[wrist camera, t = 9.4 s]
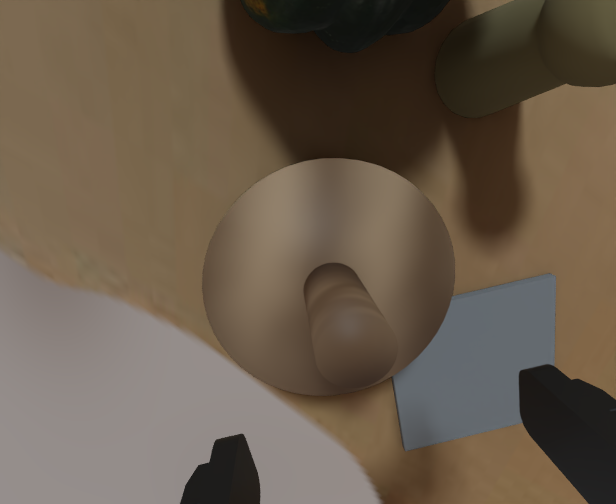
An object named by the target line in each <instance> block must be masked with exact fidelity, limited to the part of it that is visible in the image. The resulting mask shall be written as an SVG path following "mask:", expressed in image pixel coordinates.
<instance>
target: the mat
mask: <svg viewBox="0 0 616 504" xmlns="http://www.w3.org/2000/svg"><path fill="white" fill-rule="evenodd" d="M555 295H556V276H555V275H552V274H550V273H549V274H545V275H541V276H537V277H532V278H528V279H524V280H520V281H515V282H511V283H507V284H503V285H498V286H494V287H490V288H486V289H481V290H477V291H473V292H469V293H464V294H460V295H456V296H452V299H451V302H450V306H449V309H448V311H447V314H446V316H445V319H444V321H443V323H442V325H441V326H440V328H439V330H438V332H437V334H436V335H435V336H434V338H433V339H432V341H431V342H430V343H429V345H428V346H427V347H426V348H425V349H424V350H423V352H422V353H421V354H420V355H419V356H418V357H417V358H416V359H415V360H413V361H412V362H411V363H410V364H409V365H408V366H407V367H405V368H404V369H402V370H401V371H399V372H398V373H397V374H395V375H394V376H392V382H393V388H394V395H395V401H396V407H397V413H398V419H399V425H400V431H401V438H402V444H403V447H404V450H405V451H409V450H413V449H417V448H421V447H425V446H429V445H433V444H438V443H442V442H446V441H450V440H454V439H458V438H462V437H466V436H470V435H474V434H478V433H483V432H487V431H491V430H495V429H499V428H503V427H507V426H511V425H515V424H519V423H523V422H522V419H521V416H520V407H519V372H520V371H521V370H523V369H528V368H532V367H536V366H541V365H545V364H550V365H553V366H554V354H555Z"/></svg>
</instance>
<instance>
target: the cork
mask: <svg viewBox="0 0 616 504" xmlns="http://www.w3.org/2000/svg"><path fill="white" fill-rule="evenodd" d="M435 81H436V87H437V92H438V93H439V95H440V97H441V99H442V101H443V103H444V104H445V105H446V106H447V107H448V108H449V109H450V110H451V111H452V112H453V113H456V114H458V115H461V116H463V117H466V118H480V117H483V116H486V115H489V114H492V113H494V112H497V111H499V110H502V109H504V108H507V107H509V106H512V105H514V104H517V103H519V102H521V101H524V100H526V99H529V98H531V97H534V96H536V95H539V94H541V93H544V92H546V91H549V90H551V89H554V88H556V87H559V86H561V85H564V84H566V83H567V84H569V85H572V86H581V87H602V86H608V85H613V84H616V0H514V1H511V2H509V3H507V4H504V5H502V6H499V7H497V8H495V9H492V10H490V11H487V12H485V13H483V14H480V15H478V16H475V17H473V18H470V19H468V20H466V21H464V22H463V23H461V24H460V25H459V26H457V27H456V28H455V29H453V30H452V31H451V33H450V34H449V35H448V37H447V38H446V40H445V41H444V42H443V44H442V46H441V49H440V51H439V54H438V56H437V59H436V66H435Z"/></svg>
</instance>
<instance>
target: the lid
mask: <svg viewBox="0 0 616 504" xmlns="http://www.w3.org/2000/svg"><path fill="white" fill-rule="evenodd" d="M454 282H455V259H454V252H453V246H452V243H451V239H450V236H449V233H448V230H447V228H446V226H445V224H444V222H443V220H442V217H441V216H440V214H439V213H438V211H437V210H436V208H435V207H434V205H433V204H432V203H431V202H430V200H429V199H428V198H427V197H426V196H425V195H424V194H423V193H422V192H421V191H420V190H419V189H418V188H417V187H415V186H414V185H413V184H412V183H411V182H409V181H408V180H406V179H405V178H403V177H401V176H400V175H398V174H396V173H395V172H393V171H390V170H388V169H386V168H383V167H381V166H379V165H375V164H372V163H368V162H364V161H360V160H352V159H343V158H320V159H314V160H307V161H302V162H299V163H296V164H292V165H289V166H286V167H284V168H282V169H279V170H277V171H275V172H273V173H271V174H269V175H268V176H266V177H264V178H263V179H261V180H260V181H258V182H256V183H255V184H254V185H253V186H251V187H250V188H249V189H248V190H247V191H245V192H244V193H243V194H242V195H241V196H240V197H239V198H238V200H237V201H236V202H235V203H234V204H233V205H232V206H231V207H230V208H229V210H228V211H227V213H226V214H225V215H224V217H223V218H222V220H221V221H220V223H219V224H218V226H217V228H216V230H215V232H214V234H213V236H212V238H211V241H210V244H209V247H208V250H207V253H206V256H205V262H204V267H203V278H202V291H203V300H204V306H205V310H206V313H207V317H208V320H209V323H210V325H211V327H212V330H213V332H214V334H215V336H216V337H217V339H218V341H219V342H220V344H221V346H222V347H223V348H224V349H225V351H226V352H227V353H228V354H229V356H230V357H231V358H232V359H233V360H234V361H235V362H236V363H237V364H238V365H239V366H240V367H241V368H243V369H244V370H245V371H247V372H248V373H250V374H251V375H252V376H254V377H256V378H257V379H259V380H261V381H263V382H265V383H266V384H269V385H271V386H274V387H276V388H279V389H282V390H285V391H289V392H293V393H298V394H304V395H315V396H329V395H340V394H346V393H351V392H356V391H359V390H362V389H366V388H369V387H371V386H373V385H376V384H378V383H381V382H383V381H384V380H386V379H388V378H390V377H392V376H394V375H395V374H397V373H398V372H399V371H401V370H402V369H404V368H405V367H407V366H408V365H409V364H410V363H411V362H412V361H413V360H415V359H416V358H417V357H418V356H419V355H420V354H421V353H422V352H423V350H424V349H425V348H426V347H427V346H428V345H429V343H430V342H431V341H432V339H433V338H434V336H435V335H436V334H437V332H438V330H439V328H440V326H441V325H442V323H443V321H444V319H445V316H446V314H447V311H448V309H449V306H450V302H451V299H452V295H453V290H454Z"/></svg>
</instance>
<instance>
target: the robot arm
mask: <svg viewBox="0 0 616 504" xmlns="http://www.w3.org/2000/svg"><path fill="white" fill-rule="evenodd" d="M519 407H520V416H521V419H522V422H523V424H524V426H525V428H526V430H527V432H528V433H529V435H530V436H531V437H532V438H533V440H534V441H535V442H536V443H537V444H538V445H539V447H540V448H541V449H542V450H543V451H544V452H545V454H546V455H547V456H548V457H549V458H550V459H551V460H552V462H553V463H554V464H555V465H556V466H557V467H558V469H559V470H560V471H561V472H562V473H563V474H564V476H565V477H566V478H567V479H568V480H569V481H570V482H571V484H572V485H573V486H574V487H575V488H576V489H577V491H578V492H579V493H580V494H581V495H582V496H583V498H584V499H585V500H586V501H587V502H588V503H589V504H616V400H615V399H614V398H613V397H611V396H610V395H609V394H607V393H606V392H605V391H603V390H602V389H599V388H597V387H595V386H593V385H591V384H589V383H586V382H584V381H582V380H580V379H574V380H571V379H570V378H568V377H567V376H566V375H565V374H563V373H562V372H561V371H560V370H558V369H557V368H556V367H554V366H553V365H550V364H545V365H541V366H536V367H532V368H528V369H523V370H521V371H520V372H519ZM180 504H260V483H259V477H258V472H257V469H256V467H255V464H254V461H253V458H252V455H251V452H250V450H249V447H248V444H247V441H246V438H245V436H244V435H243V434H238V435H234V436H229V437H225V438H221V439H217V440H216V441H215V443H214V445H213V449H212V454H211V458H210V462H209V463H206V464H202V465H198V467H197V468H196V470H195V471H194V473H193V475H192V476H191V478H190V479H189V481H188V482H187V484H186V486H185V489H184V493H183V496H182V499H181V503H180Z"/></svg>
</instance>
